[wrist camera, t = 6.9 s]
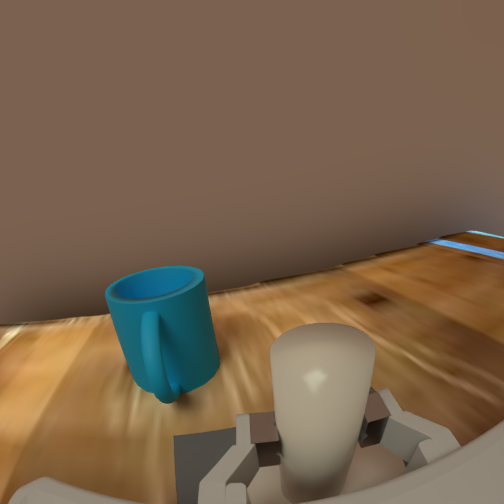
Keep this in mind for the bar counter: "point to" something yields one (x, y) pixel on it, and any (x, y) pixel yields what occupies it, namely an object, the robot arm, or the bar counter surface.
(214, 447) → the mat
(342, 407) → the white post stand
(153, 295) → the mug
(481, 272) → the bar counter surface
